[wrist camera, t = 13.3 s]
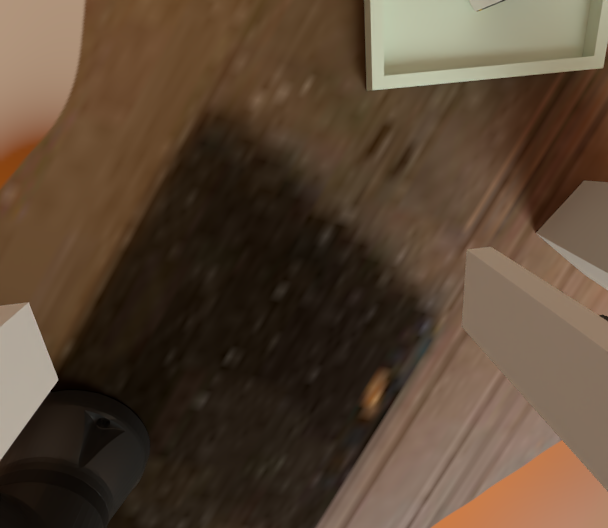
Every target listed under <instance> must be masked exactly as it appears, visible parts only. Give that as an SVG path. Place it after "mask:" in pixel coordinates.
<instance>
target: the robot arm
mask: <svg viewBox="0 0 608 528" xmlns="http://www.w3.org/2000/svg"><path fill="white" fill-rule="evenodd" d="M462 328H463V329H464V330H465V331H466V332H467V333H468V334H469V336H470V337H471V338H472V339H473V340H474V341H475V342H476V343H477V345H478V346H479V347H480V348H481V349H482V350H483V351H484V352H485V354H486V355H487V356H488V357H489V358H490V359H491V360H492V362H493V363H494V364H495V365H496V366H497V367H498V368H499V369H500V371H501V372H502V373H503V374H504V375H505V376H506V377H507V378H508V380H509V381H510V382H511V383H512V384H513V385H514V386H515V387H516V389H517V390H518V391H519V392H520V393H521V394H522V395H523V396H524V398H525V399H526V400H527V401H528V402H529V403H530V404H531V405H532V407H533V408H534V409H535V410H536V411H537V412H538V413H539V415H540V416H541V417H542V418H543V419H544V420H545V421H546V422H547V424H548V425H549V426H550V427H551V428H552V429H553V430H554V431H555V433H556V434H557V435H558V436H559V437H560V438H561V439H562V440H563V442H564V443H565V444H566V445H567V446H568V447H569V448H570V449H571V451H572V452H573V453H574V454H575V455H576V456H577V457H578V458H579V459H580V461H581V462H582V463H583V464H584V465H585V466H586V467H587V469H588V470H589V471H590V472H591V473H592V474H593V475H594V477H595V478H596V479H597V480H598V481H599V482H600V483H601V484H602V485H603V487H604V488H605V489H606V490H607V491H608V317H607V316H604V315H597V314H596V313H594V312H592V311H591V310H589V309H588V308H586V307H585V306H583V305H581V304H580V303H578V302H577V301H575V300H574V299H572V298H571V297H569V296H567V295H566V294H564V293H563V292H561V291H560V290H558V289H556V288H555V287H553V286H552V285H550V284H549V283H547V282H545V281H544V280H542V279H541V278H539V277H538V276H536V275H534V274H533V273H531V272H530V271H528V270H527V269H525V268H523V267H522V266H520V265H519V264H517V263H516V262H514V261H512V260H511V259H509V258H508V257H506V256H505V255H503V254H501V253H500V252H498V251H497V250H495V249H494V248H492V247H484V248H476V249H468V250H467V255H466V270H465V285H464V300H463V315H462ZM57 381H58V377H57V375H56V372H55V369H54V367H53V364H52V362H51V359H50V356H49V354H48V351H47V349H46V346H45V344H44V341H43V338H42V336H41V333H40V331H39V328H38V325H37V323H36V320H35V318H34V315H33V313H32V310H31V307H30V305H29V302H28V303H19V304H11V305H3V306H0V528H107V525H108V522H109V521H110V519H111V518H112V517H113V515H114V514H115V513H116V511H117V510H118V508H119V507H120V506H121V504H122V503H123V502H124V500H125V499H126V497H127V496H128V495H129V493H130V492H131V491H132V490H133V488H134V487H135V486H136V485H137V484H138V482H139V480H140V479H141V477H142V475H143V472H144V469H145V466H146V463H147V460H148V457H149V452H150V441H149V436H148V433H147V430H146V428H145V426H144V425H143V423H142V422H141V420H140V419H139V418H138V417H137V416H136V414H135V413H133V412H132V411H131V410H130V409H129V408H127V407H126V406H125V405H123V404H121V403H120V402H118V401H116V400H114V399H112V398H110V397H107V396H104V395H101V394H98V393H94V392H89V391H81V390H63V391H56V392H51V393H49V392H50V391H51V390H52V388H53V387H54V385H55V384H56V383H57Z"/></svg>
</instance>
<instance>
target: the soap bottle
mask: <svg viewBox="0 0 608 528" xmlns="http://www.w3.org/2000/svg"><path fill="white" fill-rule="evenodd" d="M536 234H537V235H539V236H540V237H541V238H542V239H543V240H544V241H546V242H547V243H548V244H549V245H550V246H551V247H553V248H554V249H555V250H556V251H557V252H558V253H560V254H561V255H562V256H563V257H564V258H566V259H567V260H568V261H569V262H570V263H571V264H573V265H574V266H575V267H576V268H577V269H578V270H580V271H581V272H582V273H583V274H584V275H586V276H587V277H589V278H590V279H592V280H593V281H595V282H596V283H598V284H599V285H601V286H602V287H604V288H605V289H607V290H608V182H598V181H583V182H582V183H581V184H580V186H579V187H578V188H577V189H576V190H575V191H574V192H573V193H572V194H571V195H570V196H569V197H568V199H567V200H566V201H565V202H564V203H563V204H562V205H561V206H560V207H559V208H558V209H557V210H556V212H555V213H554V214H553V215H552V216H551V217H550V218H549V219H548V220H547V221H546V222H545V223H544V225H543V226H542V227H541V228H540V229H539V230H538V231H537V232H536Z"/></svg>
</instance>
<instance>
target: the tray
mask: <svg viewBox="0 0 608 528" xmlns="http://www.w3.org/2000/svg"><path fill="white" fill-rule="evenodd" d="M364 16H365V52H366V87H367V91H370V90H380V89H391V88H401V87H412V86H422V85H432V84H443V83H453V82H464V81H474V80H484V79H495V78H505V77H516V76H526V75H537V74H547V73H557V72H568V71H578V70H589V69H599V68H603V66H604V60H605V54H606V49H607V43H608V0H505V1H503V2H500V3H498V4H495V5H493V6H491V7H488V8H486V9H483V10H481V11H478V12H477V11H474V9H473V8H472V6H471V4H470V2H469V0H364Z"/></svg>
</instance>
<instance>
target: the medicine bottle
mask: <svg viewBox="0 0 608 528" xmlns="http://www.w3.org/2000/svg"><path fill="white" fill-rule="evenodd" d="M503 1H505V0H469V2H470V4H471V6H472V8H473V9H474V11H477V12H478V11H481V10H483V9H486V8H488V7H491V6H493V5H495V4H498V3H500V2H503Z"/></svg>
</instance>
